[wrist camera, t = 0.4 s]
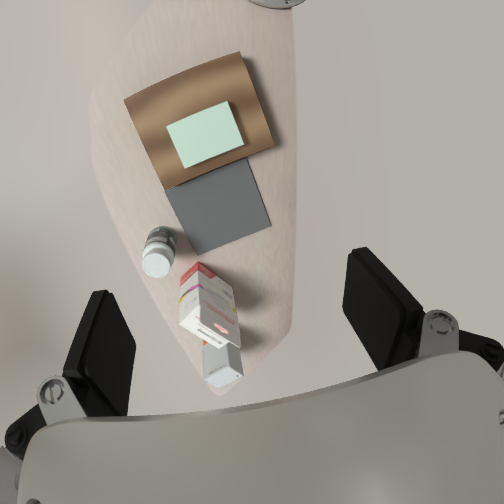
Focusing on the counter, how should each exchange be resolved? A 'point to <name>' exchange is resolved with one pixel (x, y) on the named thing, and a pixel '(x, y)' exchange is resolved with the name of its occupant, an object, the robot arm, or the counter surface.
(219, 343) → the ink cartridge box
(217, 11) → the counter surface
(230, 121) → the mint green block
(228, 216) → the mat
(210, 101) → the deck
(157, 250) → the pill bottle
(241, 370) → the skincare box
